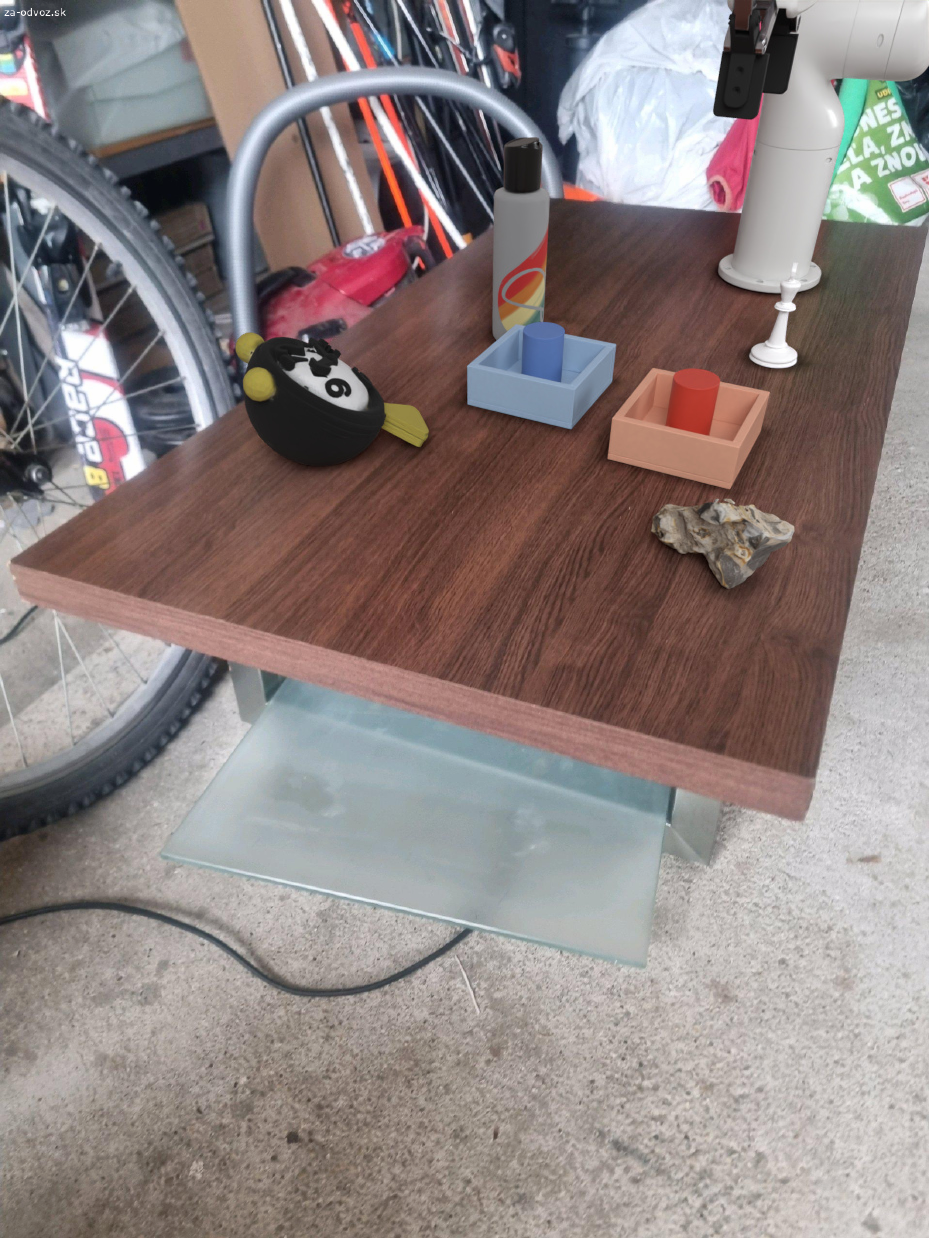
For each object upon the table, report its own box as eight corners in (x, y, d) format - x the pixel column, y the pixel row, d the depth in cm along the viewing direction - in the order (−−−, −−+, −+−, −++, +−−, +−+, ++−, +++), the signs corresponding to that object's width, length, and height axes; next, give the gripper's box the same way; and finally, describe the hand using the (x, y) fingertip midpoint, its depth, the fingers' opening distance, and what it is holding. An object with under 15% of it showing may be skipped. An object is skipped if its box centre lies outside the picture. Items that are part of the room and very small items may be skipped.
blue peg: (530, 376, 89) (533, 319, 85) (566, 384, 87) (571, 326, 83) (514, 392, 86) (516, 334, 82) (551, 400, 85) (554, 342, 81)
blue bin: (514, 361, 93) (515, 323, 90) (612, 382, 89) (616, 343, 86) (467, 404, 85) (466, 365, 83) (571, 429, 82) (574, 389, 79)
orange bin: (647, 406, 85) (652, 367, 82) (760, 432, 81) (770, 391, 78) (607, 459, 78) (611, 418, 75) (729, 490, 74) (739, 447, 71)
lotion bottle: (538, 348, 95) (548, 146, 82) (488, 344, 96) (489, 144, 83) (545, 327, 99) (556, 132, 86) (496, 324, 100) (500, 130, 87)
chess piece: (797, 352, 94) (822, 257, 87) (795, 371, 90) (820, 274, 84) (751, 346, 95) (771, 252, 89) (747, 364, 92) (768, 269, 85)
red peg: (671, 425, 81) (681, 364, 77) (713, 435, 79) (725, 373, 75) (657, 444, 78) (667, 383, 74) (700, 455, 77) (713, 392, 73)
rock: (617, 566, 63) (739, 531, 56) (627, 483, 66) (745, 440, 59) (686, 613, 68) (807, 586, 61) (693, 534, 71) (809, 500, 64)
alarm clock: (391, 525, 77) (327, 417, 64) (262, 486, 82) (179, 380, 69) (448, 422, 80) (398, 300, 67) (321, 392, 86) (253, 274, 73)
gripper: (846, -213, 48) (775, 134, 59) (888, -200, 59) (822, 88, 71) (712, -208, 50) (669, 123, 62) (778, -197, 62) (731, 80, 73)
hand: (750, 104), depth 66 cm, fingers open, 9 cm apart
